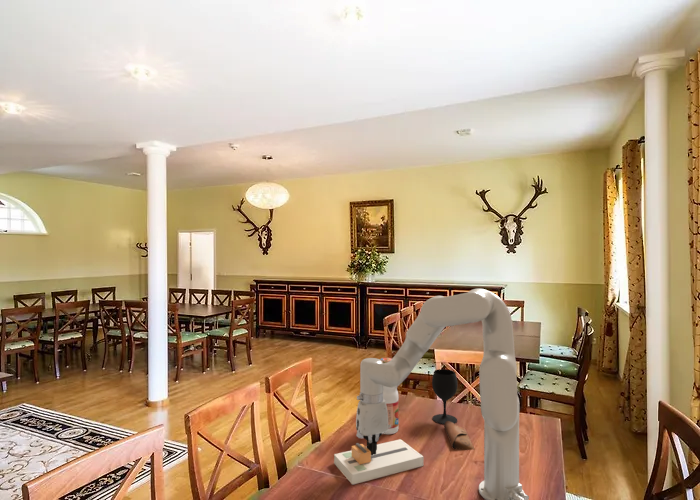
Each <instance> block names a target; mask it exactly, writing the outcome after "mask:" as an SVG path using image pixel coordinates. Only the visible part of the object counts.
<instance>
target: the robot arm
mask: <svg viewBox="0 0 700 500" xmlns="http://www.w3.org/2000/svg"><path fill="white" fill-rule="evenodd" d="M479 322H481V325H482V340H483V341H482V343H483V345H482V346H483V356H482V358H481V359H482V360H481V362H480V364H479V373H478V374H479V376H478V377H479V394H480V395H479V397H480V412H481V416H482V419H483V420H484V424H483V425H484V426H483V427H484V428H483V430H484V431H483V436H484V437H483V438H484V439H483V440H484V441H483V443H484V444H483V445H484V447H483V448H484V451H483V452H484V453H483V455H484V456H483V459H484V460H483V461H484V462H483V463H484V465H483V466H484V469H483V470H484V474H483V475H484V476H483V479H484V480H482V481H481V482H480V483H479V485H478V492H479V495H480V496H481V497H482V498H483V499H484V500H530V497H529V495H527V494H526V493H525V490H523V484H521V483H520V398H519V395H518V384H517V383H518V380H517V371H518V367H517V360H516V351H515V338H514V327H513V324H514V323H513V320H512V316H511V313H510V310H509V308H508V306H507V304H506V303H505V301H503V299H502V298H501V297H499V296H498V295H497V294H495V293H494V292H492V291H490V290H487V289H486V288H485V289H484V288H473V289H471V290H469V291H468V292H464V293H459V294H454V295H448V296H443V295H435V296H433V297H431V298H429V299H426V301H425V302H423V304H422V306H421V308H420V313H419V314H418V316H416V318H415V320H414V321H413V322H412V324H411V325H410V327H409V328H408V329H407V331H406V336H405V339H404V342H403V343H402V345H401V346H400V347H399V349H398V351H397V352H396V354H394V356H393V357H392V358H391V360H390V361H389V362H387V363H384V364H383V362H382V361H381V358H380V359H379V358H376V357H366V358H364V359H362V360H361V362H360V365H359V366H360V367H359V368H360V370H359V371H360V372H359V375H360V377H359V378H360V381H359V384H360V385H359V386H360V389H359V391H360V392H359V394H358V395H356V400H357V401H358V403H357V407H356V418H355V430H356V437H357V438H358V439H365V441H366V447H367V448H368V449H369V450H370V451H371V455H373V454H374V455H375V454H376V450H377V444H378V442H379V440H380V437H381V436H382V435H385V434H384V433H386V432H387V430H388V412H387V406H386V401H385V400H384V399H383V386H386V387H390V388H394V387H397V388H398V387H399V386H400V385H401V384H402V383H403V382H404V381H405V380H406V379H407V378H408V377H409V375H410V374H411V373H412V372H413V370H414V368H415V367H416V366H417V364H418V363H419V362H420V360H421V359H422V358H423V356H424V355H425V354H426V352H428V351H429V349H430V348H431V346H432V345H433V344H434V342H435V341H436V340H437V338H438V337H439V336H440V334H441V333H442V331H444V329H445V328H446V327H452V326H460V325H466V324H473V323H479Z"/></svg>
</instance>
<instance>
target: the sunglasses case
mask: <svg viewBox="0 0 700 500" xmlns="http://www.w3.org/2000/svg"><path fill="white" fill-rule="evenodd" d="M443 427H444V429H445V432H446V435H447V437H448V441H449V443H450V445H451V448H452V449H453V450H463V451H465V450H466V451H467V450H469V451H470V450H471V451H472V450H474V451H475V447H474V444H473V443H472V441H471V438H470V437H469V434H468V432H467V429H466V428H464V427H462V426H460V425H458V424H457V423H455V424H454V423H452V422H450V421H446V422H445V424H444V425H443Z"/></svg>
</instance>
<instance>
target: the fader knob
mask: <svg viewBox="0 0 700 500" xmlns="http://www.w3.org/2000/svg"><path fill="white" fill-rule="evenodd" d="M366 447H367V446H366V445H364V444H363V443H359V442H356V443H355V445H351V450H352V457H353V458H354V459H355V460H356V461H357V462H358V463H359V464H363V463H367V462H371V451H370V450H369V449H368V448H366Z"/></svg>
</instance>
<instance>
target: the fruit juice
mask: <svg viewBox="0 0 700 500" xmlns="http://www.w3.org/2000/svg"><path fill="white" fill-rule="evenodd" d="M391 359H392V358H391V357H382V358H380V360H381V361H382V362H383V364H384V363H387V362H389V361H390V360H391ZM383 399H384V400H385V401H386V406H387V412H388V430H387V432H386V433H384V434H383V435H393V434H395V433H398V431H399V427H400V426H399V425H400V424H399V423H400V422H399V421H400V420H399V417H400V416H399V410H400V409H399V408H400V407H399V403H400V402H399V399H400V398H399V391H398V386H397V387H394V388H390V387H386V386H383Z"/></svg>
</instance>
